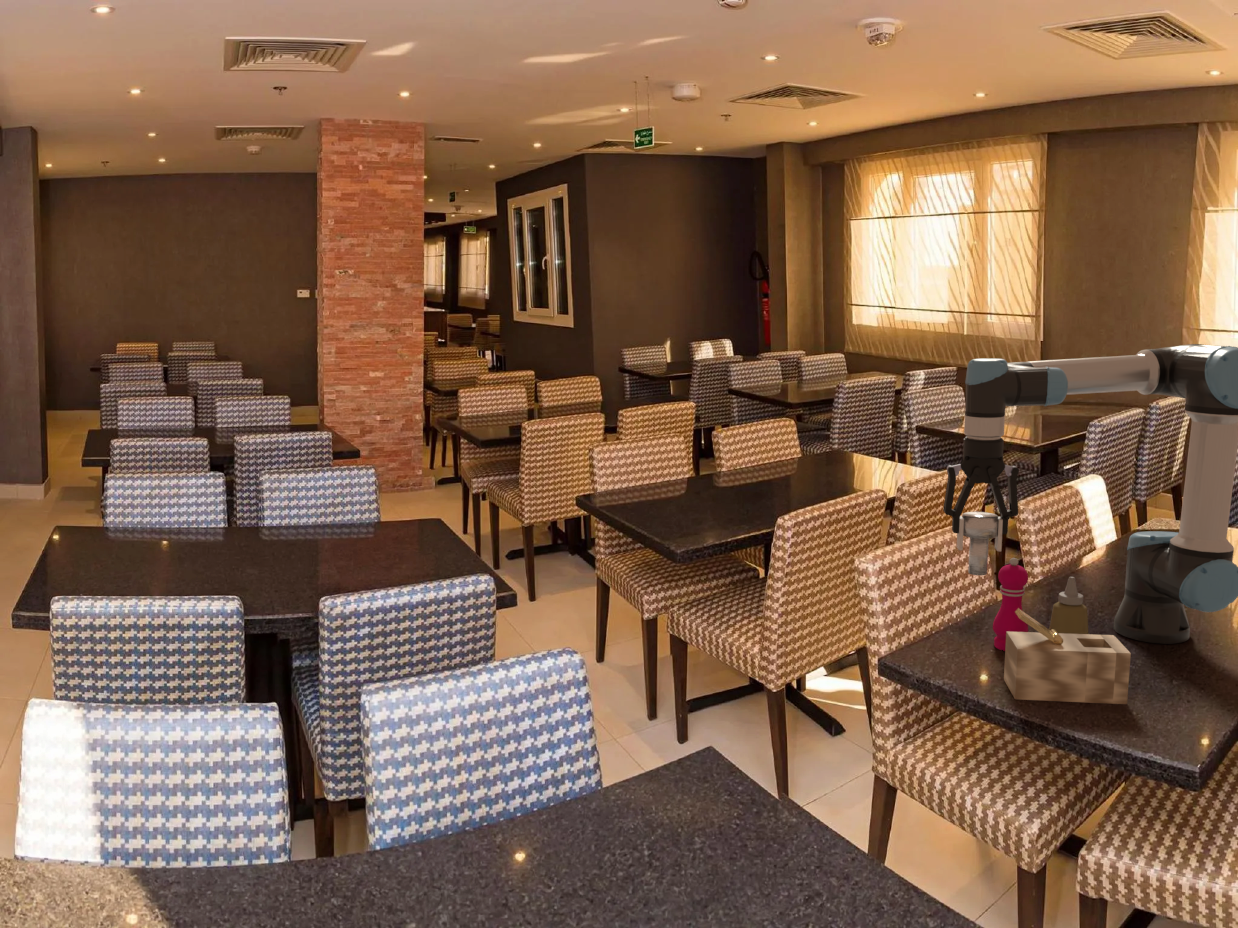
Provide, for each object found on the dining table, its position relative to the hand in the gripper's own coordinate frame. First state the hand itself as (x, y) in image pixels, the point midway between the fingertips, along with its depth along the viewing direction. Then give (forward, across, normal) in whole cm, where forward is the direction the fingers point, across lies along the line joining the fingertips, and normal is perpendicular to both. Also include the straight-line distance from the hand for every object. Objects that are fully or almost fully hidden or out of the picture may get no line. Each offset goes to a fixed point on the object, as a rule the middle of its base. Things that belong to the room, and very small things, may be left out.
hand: (978, 548), depth 207 cm
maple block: (+25, -15, +12) cm, 31 cm away
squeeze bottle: (+25, -20, -5) cm, 32 cm away
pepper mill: (+25, -10, -12) cm, 30 cm away
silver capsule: (+5, 0, 0) cm, 5 cm away
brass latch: (+13, -9, +12) cm, 19 cm away
